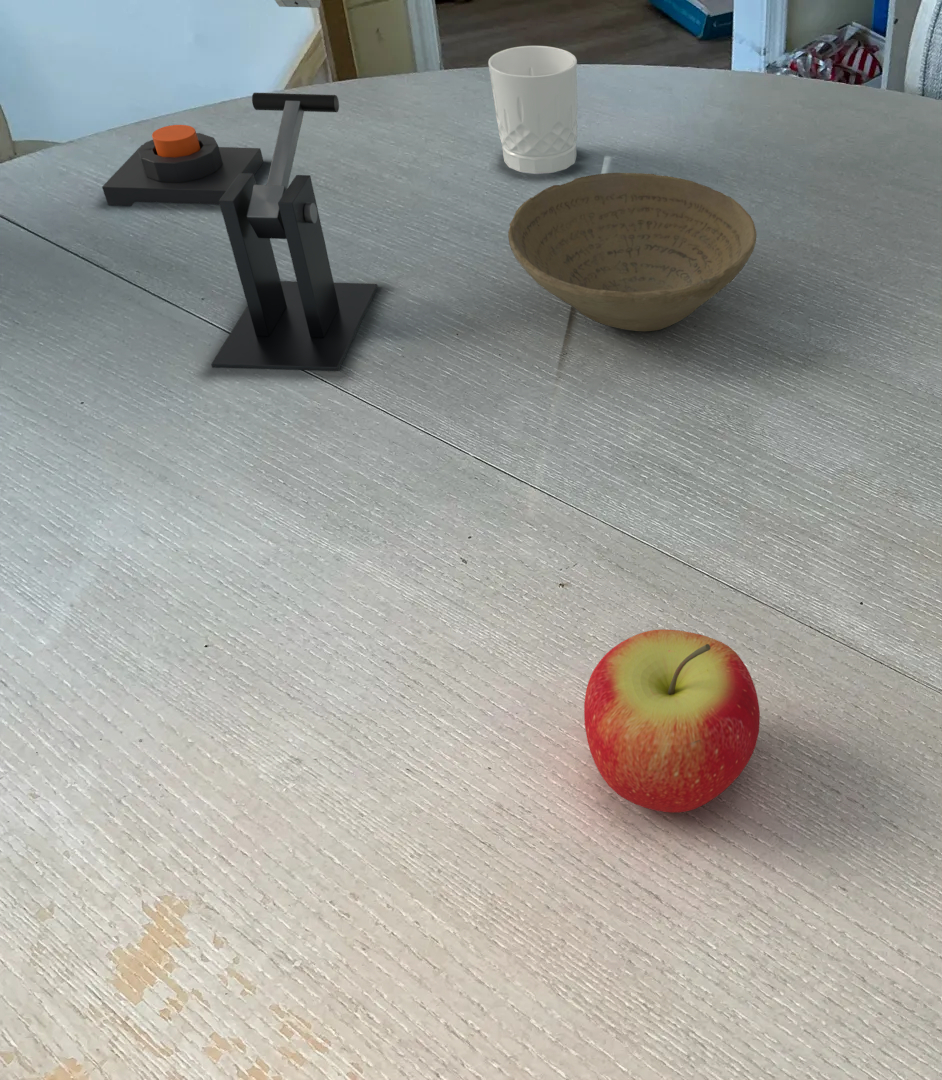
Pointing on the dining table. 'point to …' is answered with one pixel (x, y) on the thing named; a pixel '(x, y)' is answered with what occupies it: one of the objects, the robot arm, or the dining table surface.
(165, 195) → the button box
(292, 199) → the bracket
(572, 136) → the white cup
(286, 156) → the lever
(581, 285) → the bowl
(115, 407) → the dining table surface
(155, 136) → the button
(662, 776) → the apple
